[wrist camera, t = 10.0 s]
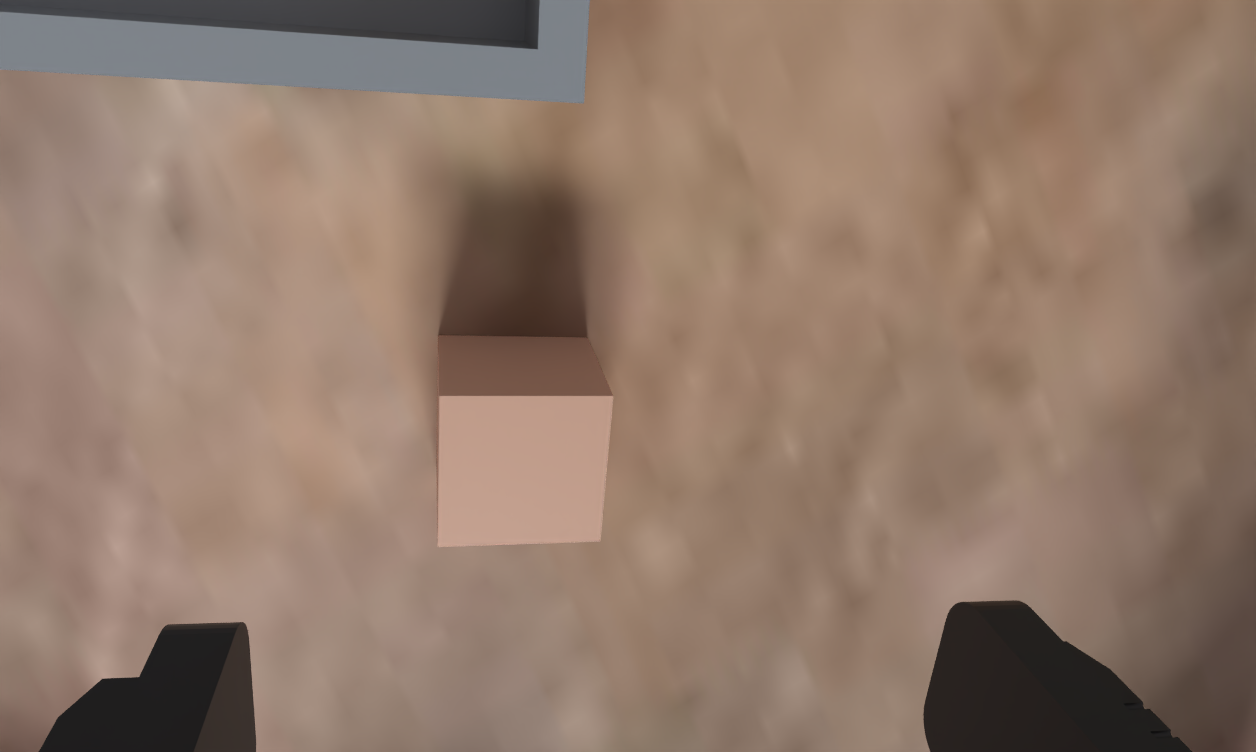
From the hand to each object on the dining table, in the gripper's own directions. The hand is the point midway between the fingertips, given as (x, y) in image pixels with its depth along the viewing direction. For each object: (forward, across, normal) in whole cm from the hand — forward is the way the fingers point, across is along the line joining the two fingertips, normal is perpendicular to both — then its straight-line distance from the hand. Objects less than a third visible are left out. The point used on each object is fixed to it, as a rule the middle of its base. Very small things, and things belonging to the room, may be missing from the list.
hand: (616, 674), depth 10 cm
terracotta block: (+15, 0, +3) cm, 16 cm away
